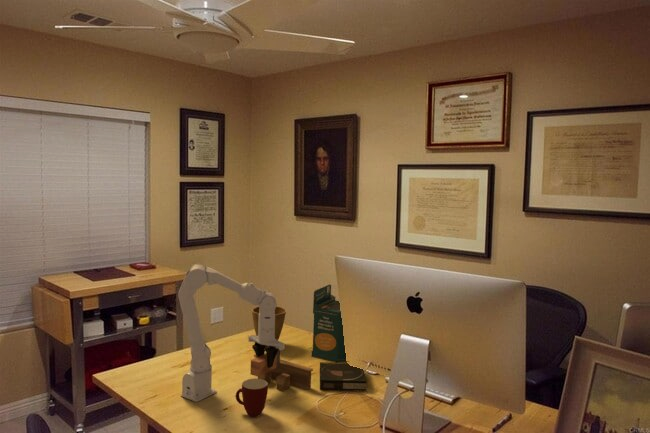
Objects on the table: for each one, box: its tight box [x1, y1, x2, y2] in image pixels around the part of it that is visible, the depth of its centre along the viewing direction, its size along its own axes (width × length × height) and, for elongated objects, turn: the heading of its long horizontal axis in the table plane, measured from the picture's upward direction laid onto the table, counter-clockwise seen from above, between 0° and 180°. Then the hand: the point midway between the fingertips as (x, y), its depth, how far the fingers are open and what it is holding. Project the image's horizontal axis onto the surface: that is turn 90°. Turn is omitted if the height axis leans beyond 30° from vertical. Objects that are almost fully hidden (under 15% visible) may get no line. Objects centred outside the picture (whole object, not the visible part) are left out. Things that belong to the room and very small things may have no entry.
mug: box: [235, 378, 269, 418], centre depth 154 cm, size 10×8×10 cm
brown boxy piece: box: [250, 350, 281, 378], centre depth 171 cm, size 12×4×6 cm, turn 148°
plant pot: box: [251, 305, 287, 349], centre depth 216 cm, size 15×15×16 cm
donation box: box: [310, 284, 347, 363], centre depth 207 cm, size 16×16×28 cm
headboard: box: [253, 353, 314, 392], centre depth 178 cm, size 8×25×7 cm, turn 58°
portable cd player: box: [319, 361, 367, 392], centre depth 182 cm, size 16×17×4 cm
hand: (265, 365), depth 171 cm, fingers closed on brown boxy piece, 3 cm apart
